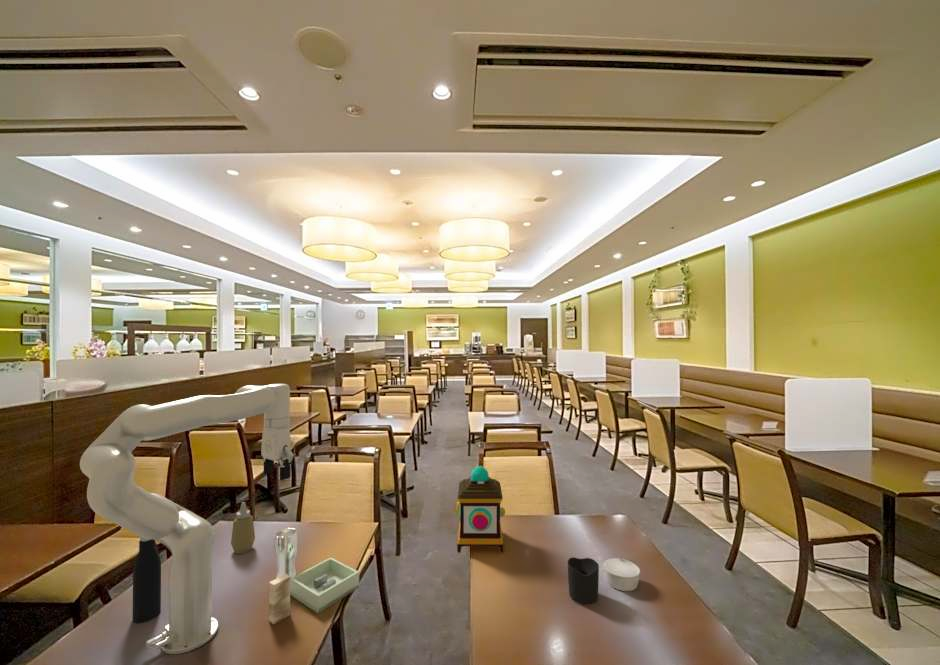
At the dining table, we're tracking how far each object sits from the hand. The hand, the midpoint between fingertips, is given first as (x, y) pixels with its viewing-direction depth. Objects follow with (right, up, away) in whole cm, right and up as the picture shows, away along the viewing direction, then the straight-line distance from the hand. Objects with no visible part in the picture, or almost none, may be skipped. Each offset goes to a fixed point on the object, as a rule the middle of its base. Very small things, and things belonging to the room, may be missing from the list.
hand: (276, 476), depth 129 cm
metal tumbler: (0, -37, +7) cm, 38 cm away
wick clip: (+16, -37, 0) cm, 40 cm away
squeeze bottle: (-25, -37, +25) cm, 51 cm away
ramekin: (+112, -37, +3) cm, 118 cm away
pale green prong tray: (+16, -37, 0) cm, 40 cm away
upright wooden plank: (+7, -37, -13) cm, 39 cm away
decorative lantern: (+66, -37, +30) cm, 82 cm away
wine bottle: (-32, -37, -12) cm, 50 cm away
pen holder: (+97, -37, -3) cm, 104 cm away
